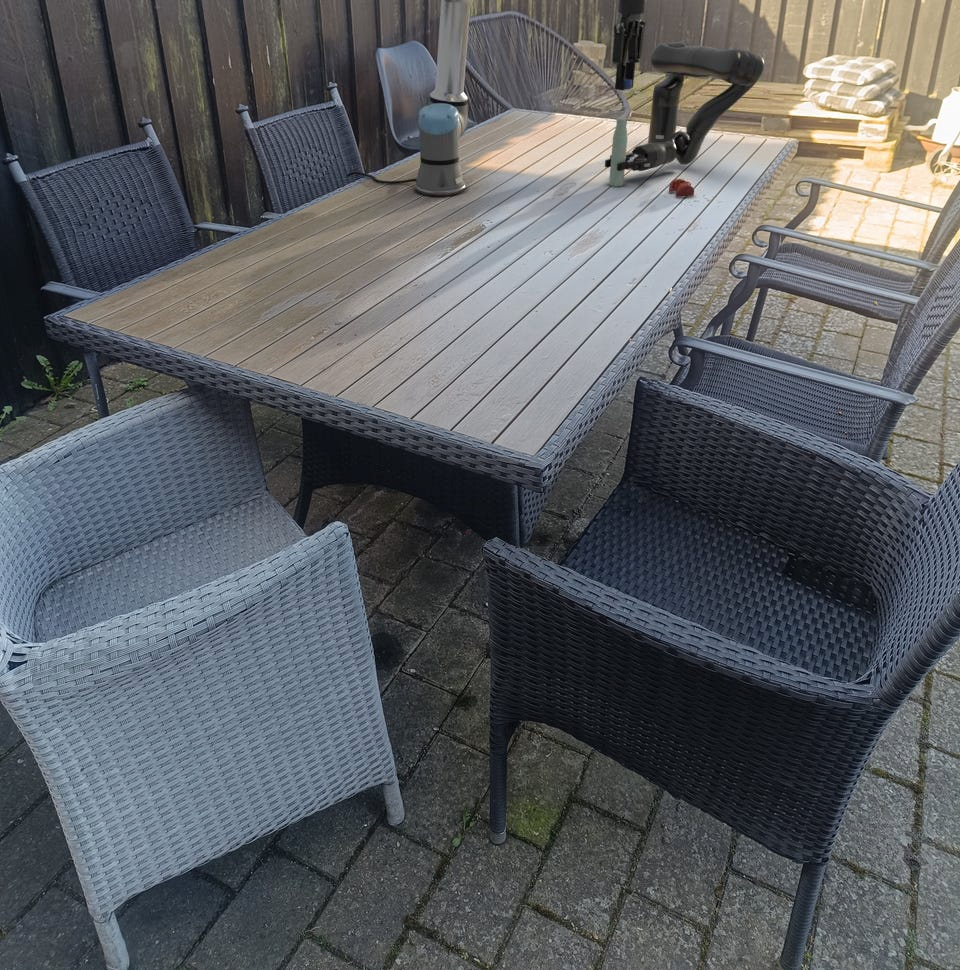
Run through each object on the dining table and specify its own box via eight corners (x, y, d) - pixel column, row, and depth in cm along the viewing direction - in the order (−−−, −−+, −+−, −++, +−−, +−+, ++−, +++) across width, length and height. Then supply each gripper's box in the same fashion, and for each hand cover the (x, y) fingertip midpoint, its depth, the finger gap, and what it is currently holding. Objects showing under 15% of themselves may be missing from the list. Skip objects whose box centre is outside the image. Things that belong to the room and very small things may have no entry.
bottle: (607, 185, 262) (613, 119, 251) (610, 181, 265) (616, 116, 254) (621, 186, 261) (627, 120, 250) (624, 183, 264) (630, 117, 253)
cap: (633, 89, 246) (634, 80, 245) (620, 89, 245) (621, 81, 244) (627, 86, 249) (628, 78, 248) (614, 87, 248) (615, 78, 247)
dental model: (685, 174, 256) (697, 182, 250) (683, 188, 258) (695, 196, 252) (668, 176, 255) (679, 184, 249) (666, 190, 257) (678, 199, 251)
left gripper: (628, 0, 226) (619, 94, 240) (660, -5, 237) (650, 85, 251) (604, -2, 230) (596, 91, 244) (637, -7, 241) (628, 82, 254)
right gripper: (633, 139, 269) (595, 148, 260) (667, 148, 260) (630, 157, 251) (630, 163, 274) (594, 173, 265) (664, 173, 265) (627, 183, 256)
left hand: (623, 88), depth 247 cm, fingers closed on cap, 4 cm apart
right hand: (611, 165), depth 258 cm, fingers closed on bottle, 4 cm apart
